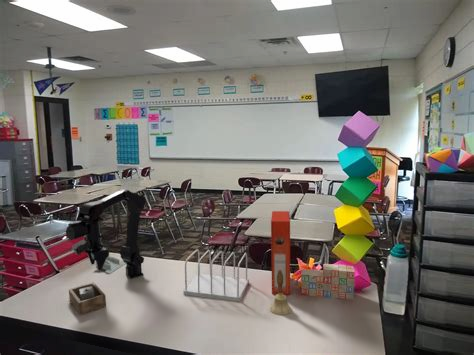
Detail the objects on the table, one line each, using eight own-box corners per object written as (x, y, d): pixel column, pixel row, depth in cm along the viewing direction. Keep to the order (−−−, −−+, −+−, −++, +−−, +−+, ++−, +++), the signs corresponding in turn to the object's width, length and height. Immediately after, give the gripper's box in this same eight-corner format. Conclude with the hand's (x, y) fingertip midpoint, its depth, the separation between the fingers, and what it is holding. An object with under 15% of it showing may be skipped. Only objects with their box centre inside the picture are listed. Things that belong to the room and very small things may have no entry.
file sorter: (183, 295, 147) (181, 260, 145) (197, 277, 164) (196, 246, 161) (239, 301, 141) (239, 265, 138) (249, 283, 157) (248, 250, 155)
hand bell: (277, 317, 128) (277, 276, 126) (265, 307, 136) (265, 268, 133) (295, 311, 132) (296, 272, 130) (283, 302, 139) (283, 264, 137)
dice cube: (81, 305, 137) (80, 294, 137) (80, 300, 142) (79, 289, 141) (94, 302, 140) (93, 291, 139) (93, 297, 144) (92, 286, 143)
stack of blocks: (300, 295, 145) (301, 267, 143) (301, 288, 151) (301, 261, 149) (354, 300, 140) (355, 271, 138) (352, 293, 146) (353, 265, 144)
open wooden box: (94, 293, 150) (93, 282, 149) (106, 306, 138) (105, 294, 137) (69, 300, 143) (68, 289, 143) (79, 315, 132) (78, 303, 131)
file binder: (271, 294, 146) (271, 221, 141) (272, 276, 163) (272, 211, 158) (290, 295, 145) (290, 221, 140) (289, 277, 162) (289, 211, 157)
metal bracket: (88, 261, 172) (107, 250, 186) (86, 271, 173) (105, 260, 187) (112, 271, 169) (130, 260, 183) (110, 281, 170) (128, 269, 184)
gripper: (66, 232, 148) (70, 266, 151) (79, 243, 134) (83, 280, 136) (93, 226, 155) (96, 259, 158) (108, 236, 141) (111, 272, 144)
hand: (96, 267), depth 149 cm, fingers open, 9 cm apart
